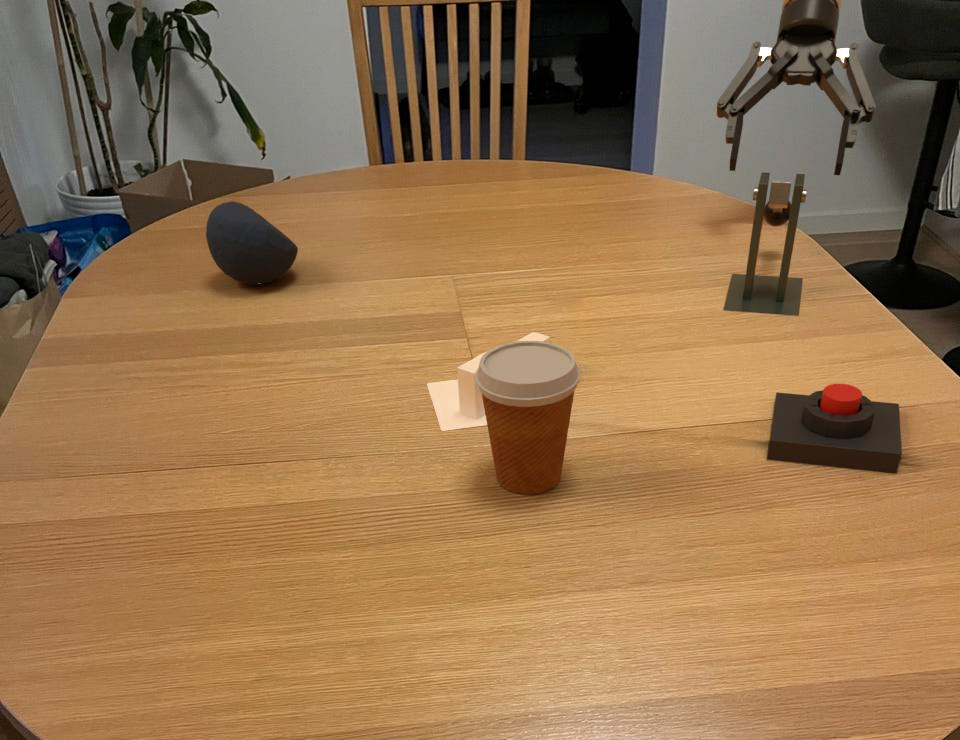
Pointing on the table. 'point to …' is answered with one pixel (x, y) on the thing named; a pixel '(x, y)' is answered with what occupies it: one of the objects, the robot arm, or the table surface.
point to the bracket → (768, 290)
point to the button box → (835, 434)
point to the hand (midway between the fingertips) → (784, 167)
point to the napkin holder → (464, 395)
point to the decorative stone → (248, 244)
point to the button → (841, 399)
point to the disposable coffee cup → (528, 411)
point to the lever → (778, 204)
